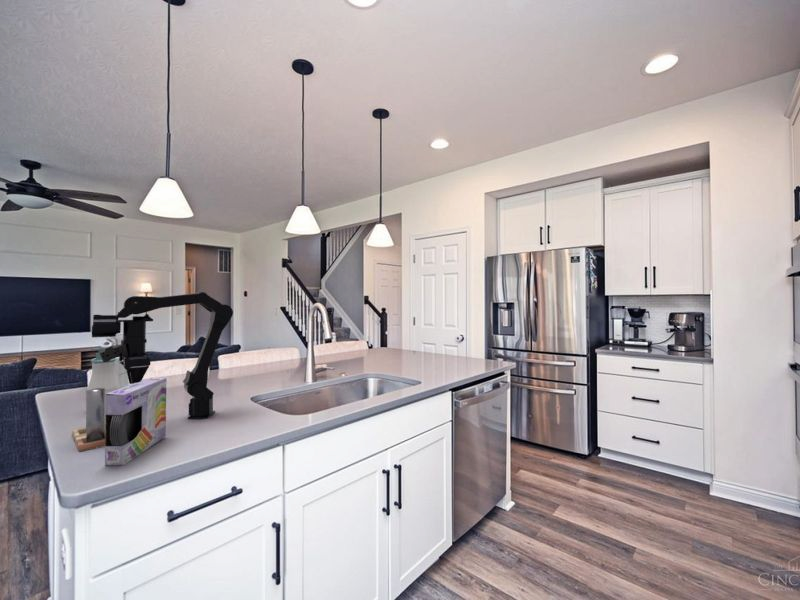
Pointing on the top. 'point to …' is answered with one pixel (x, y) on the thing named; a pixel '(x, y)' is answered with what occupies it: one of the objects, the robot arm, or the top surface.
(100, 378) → the soap bottle
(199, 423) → the top surface
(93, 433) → the steel pin
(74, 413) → the top surface
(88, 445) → the socket rail
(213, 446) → the top surface
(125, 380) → the supplement box
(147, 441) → the cake pan box
